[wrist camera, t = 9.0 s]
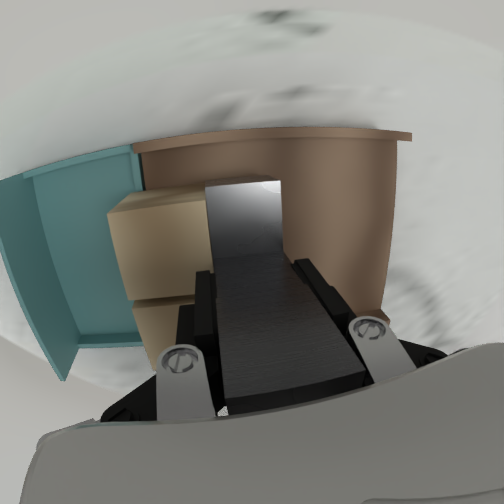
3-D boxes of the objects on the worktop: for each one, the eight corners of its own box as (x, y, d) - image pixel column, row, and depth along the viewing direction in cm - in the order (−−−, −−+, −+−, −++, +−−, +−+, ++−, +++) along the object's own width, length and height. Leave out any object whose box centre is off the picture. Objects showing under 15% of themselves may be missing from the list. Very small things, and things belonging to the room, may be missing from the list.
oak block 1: (205, 182, 14) (205, 200, 11) (213, 254, 16) (216, 291, 12) (130, 192, 14) (106, 213, 10) (144, 262, 16) (128, 300, 12)
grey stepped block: (267, 174, 14) (387, 235, 4) (275, 330, 17) (331, 478, 8) (205, 180, 13) (200, 256, 4) (224, 337, 17) (248, 495, 7)
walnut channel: (379, 130, 16) (411, 132, 13) (367, 300, 22) (389, 325, 19) (147, 141, 15) (132, 143, 12) (181, 329, 20) (179, 363, 17)
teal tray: (142, 142, 15) (117, 146, 10) (177, 330, 20) (173, 380, 16) (30, 170, 14) (-16, 186, 9) (80, 336, 19) (60, 380, 15)
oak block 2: (215, 261, 16) (218, 300, 13) (222, 319, 18) (228, 364, 14) (146, 269, 16) (131, 308, 12) (160, 325, 17) (153, 370, 14)
